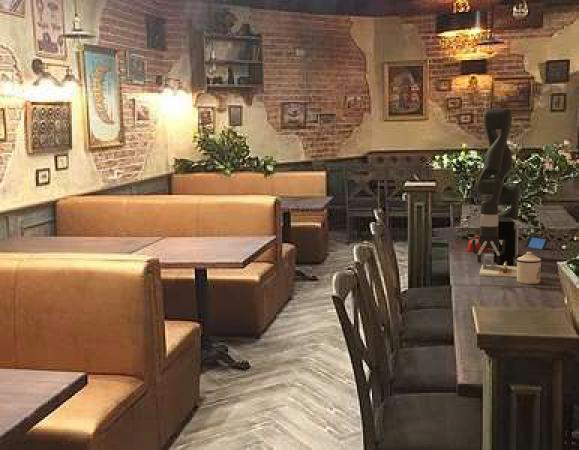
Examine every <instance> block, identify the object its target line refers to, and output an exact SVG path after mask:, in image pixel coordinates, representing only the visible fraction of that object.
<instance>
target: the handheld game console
mask: <svg viewBox="0 0 579 450" xmlns="http://www.w3.org/2000/svg"><path fill="white" fill-rule="evenodd" d="M549 239H550V238H548V237H541V236H537V235H536V236H533V235H530V236H529V237H528V239H527V242H526V243H525V244H526V245H525V246H524V248H527V247H528V249H533V248H536V249H535V250H539V249H540V250H539V251H541V250H542V251H545V249H546V247H547V245H548V242H549Z"/></svg>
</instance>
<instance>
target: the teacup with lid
mask: <svg viewBox="0 0 579 450" xmlns="http://www.w3.org/2000/svg"><path fill="white" fill-rule="evenodd" d="M516 260H517V265H516V266H517V277H516V282H518V283H519V284H524V285H525V284H526V285H536V284H537V285H538V284H540V283H541V270H542V269H541V266H542V259H541V258H540V257H537V256H536V255H534V254H533V252H531V251H526V253H525V254H524V255H522V256H517V259H516Z"/></svg>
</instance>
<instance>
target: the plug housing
mask: <svg viewBox="0 0 579 450" xmlns="http://www.w3.org/2000/svg"><path fill="white" fill-rule="evenodd" d="M487 261H490V265H491V270H493V268H494V265H495V262H494V254H492V253H484V254H483V256H482V265H483V269H485V268H486V265H487Z"/></svg>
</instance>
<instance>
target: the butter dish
mask: <svg viewBox="0 0 579 450" xmlns="http://www.w3.org/2000/svg"><path fill="white" fill-rule="evenodd" d="M479 238H480V235H475V236H474V239H479ZM472 240H473V239H470V240H468V244H467V248H468V249H467V250H466V249H465V248H464V250H466V251H465V252H466V253H473V244H472ZM481 246H482V245H481V244H480V242H479V241H478V242H477V244H476V250H477V251H479V250H480V248H481ZM490 251H491V250H490V248H488V249H485V248H484V249H483V250H482V252H481V253H491V252H490Z"/></svg>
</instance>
